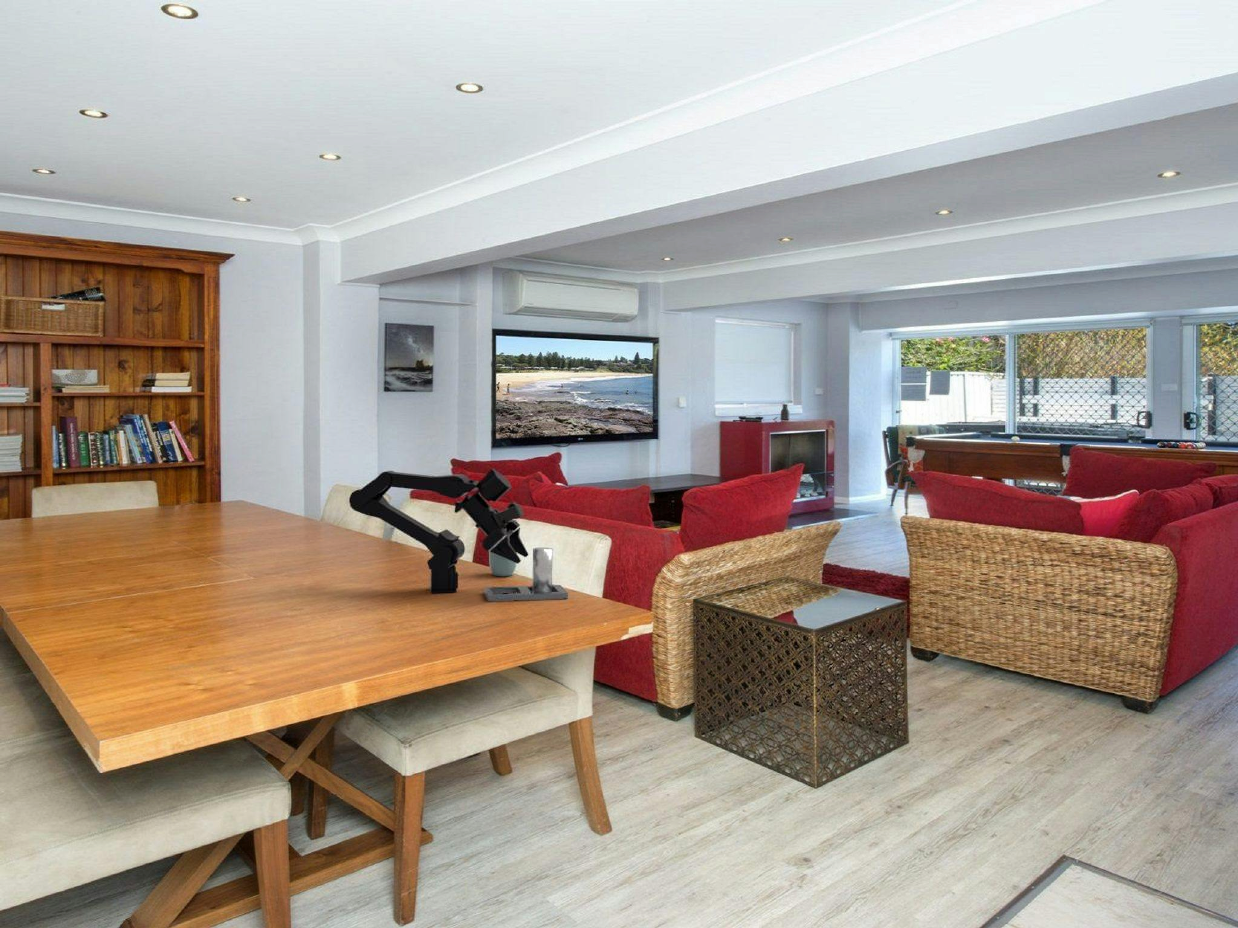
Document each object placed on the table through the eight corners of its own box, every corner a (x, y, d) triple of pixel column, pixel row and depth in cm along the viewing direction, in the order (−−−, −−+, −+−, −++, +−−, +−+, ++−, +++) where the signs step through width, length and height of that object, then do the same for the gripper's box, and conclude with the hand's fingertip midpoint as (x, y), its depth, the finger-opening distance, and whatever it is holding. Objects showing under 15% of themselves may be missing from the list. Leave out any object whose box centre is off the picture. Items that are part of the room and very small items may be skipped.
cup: (511, 578, 249) (512, 543, 249) (485, 576, 251) (485, 541, 250) (520, 573, 257) (520, 538, 256) (494, 571, 259) (494, 537, 258)
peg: (537, 598, 226) (538, 551, 225) (529, 594, 230) (529, 548, 229) (555, 596, 228) (556, 549, 227) (546, 592, 233) (547, 546, 232)
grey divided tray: (488, 601, 221) (488, 595, 221) (483, 592, 230) (483, 587, 230) (567, 598, 226) (567, 592, 226) (560, 590, 236) (560, 584, 235)
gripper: (496, 497, 219) (539, 544, 219) (513, 489, 238) (552, 533, 237) (464, 527, 221) (506, 574, 220) (483, 517, 239) (522, 560, 239)
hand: (523, 559), depth 229 cm, fingers open, 9 cm apart
